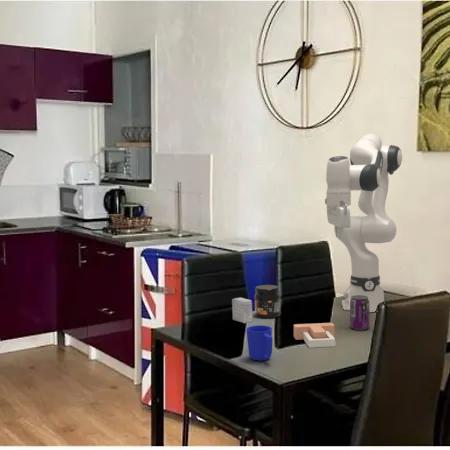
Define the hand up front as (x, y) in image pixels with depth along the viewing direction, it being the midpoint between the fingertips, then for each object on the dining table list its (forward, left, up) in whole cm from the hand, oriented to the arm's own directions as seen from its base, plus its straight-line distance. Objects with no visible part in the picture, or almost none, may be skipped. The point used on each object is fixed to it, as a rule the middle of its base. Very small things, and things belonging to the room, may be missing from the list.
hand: (339, 237), depth 242 cm
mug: (+34, -34, -34) cm, 59 cm away
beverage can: (+2, +7, -34) cm, 35 cm away
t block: (+14, -12, -34) cm, 39 cm away
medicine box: (-18, -35, -34) cm, 52 cm away
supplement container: (-24, -24, -34) cm, 48 cm away
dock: (+17, -12, -34) cm, 40 cm away
